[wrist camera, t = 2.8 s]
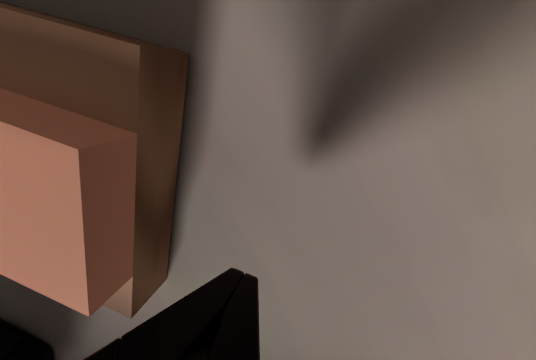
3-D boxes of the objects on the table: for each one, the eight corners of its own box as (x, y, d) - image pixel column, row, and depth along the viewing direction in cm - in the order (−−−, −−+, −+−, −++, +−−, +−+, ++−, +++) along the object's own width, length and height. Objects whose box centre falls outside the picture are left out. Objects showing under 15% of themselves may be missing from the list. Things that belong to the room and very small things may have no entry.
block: (137, 133, 8) (77, 149, 6) (132, 276, 11) (89, 316, 9) (-76, 62, 10) (-173, 58, 8) (-37, 202, 12) (-104, 223, 10)
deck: (166, 279, 14) (131, 318, 12) (16, 215, 16) (-40, 238, 13) (189, 53, 9) (139, 46, 7) (-25, -5, 11) (-121, -27, 9)
